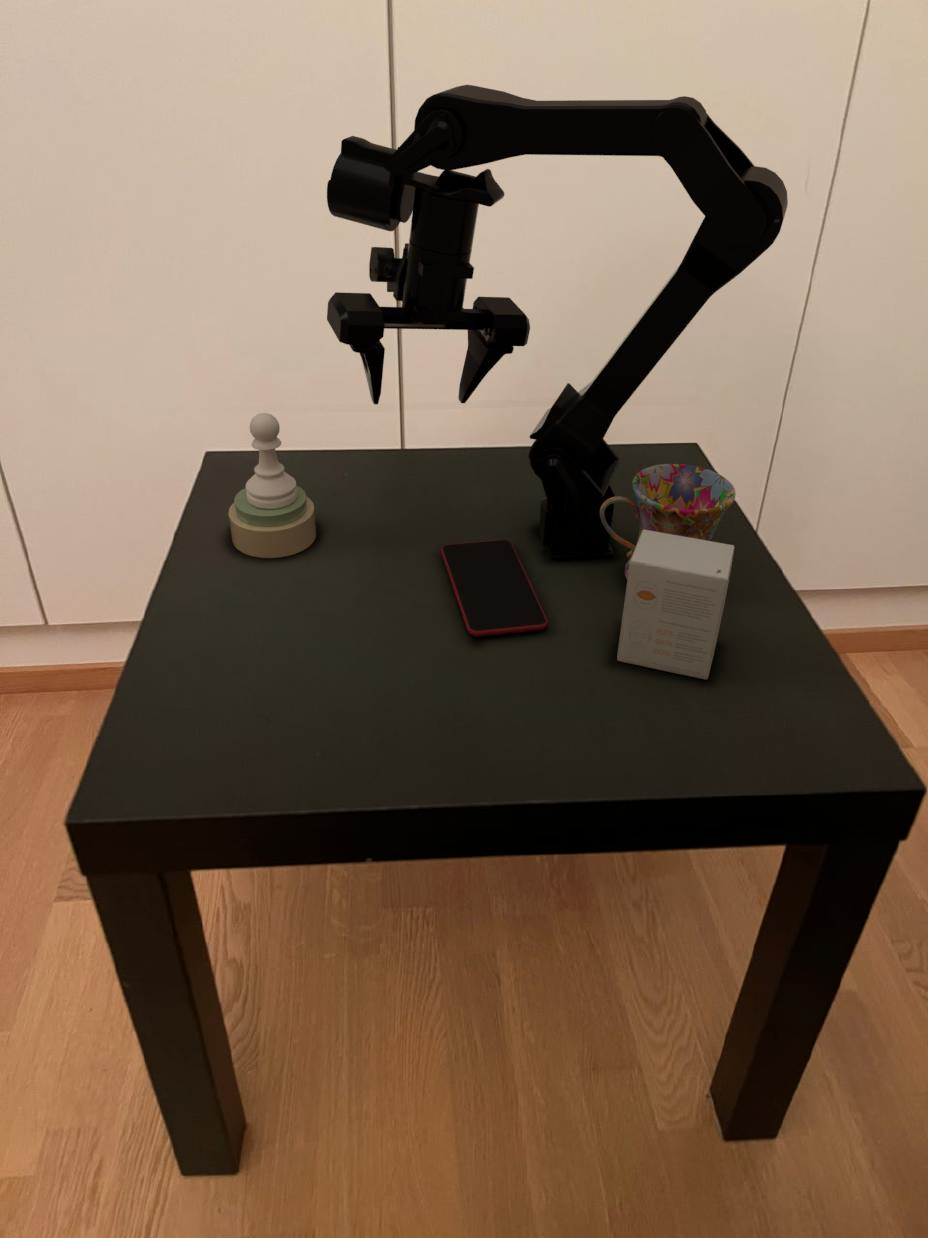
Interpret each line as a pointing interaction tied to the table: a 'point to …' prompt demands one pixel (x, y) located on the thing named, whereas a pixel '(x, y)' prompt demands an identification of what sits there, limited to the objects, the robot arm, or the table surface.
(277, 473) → the chess pawn
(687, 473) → the mug
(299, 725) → the table surface
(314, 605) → the table surface
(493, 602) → the smartphone
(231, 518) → the push button
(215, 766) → the table surface
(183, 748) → the table surface
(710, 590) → the small box
